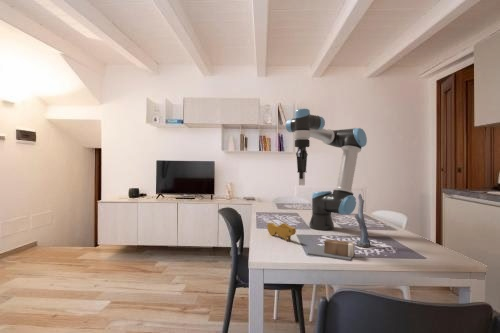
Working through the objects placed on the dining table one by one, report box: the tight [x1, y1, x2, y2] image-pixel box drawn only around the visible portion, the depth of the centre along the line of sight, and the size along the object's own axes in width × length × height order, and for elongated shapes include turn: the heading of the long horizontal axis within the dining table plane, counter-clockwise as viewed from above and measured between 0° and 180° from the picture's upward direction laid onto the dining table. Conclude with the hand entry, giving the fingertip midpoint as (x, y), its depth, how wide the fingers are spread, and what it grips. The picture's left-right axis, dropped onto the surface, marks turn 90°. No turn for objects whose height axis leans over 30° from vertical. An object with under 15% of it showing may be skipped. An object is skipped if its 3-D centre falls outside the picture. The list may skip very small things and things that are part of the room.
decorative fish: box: [266, 222, 297, 242], centre depth 150 cm, size 22×3×10 cm, turn 32°
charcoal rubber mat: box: [307, 244, 353, 261], centre depth 126 cm, size 14×18×1 cm
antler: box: [354, 193, 372, 248], centre depth 140 cm, size 12×8×25 cm
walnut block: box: [323, 238, 355, 258], centre depth 123 cm, size 5×5×12 cm
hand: (301, 185), depth 143 cm, fingers closed
